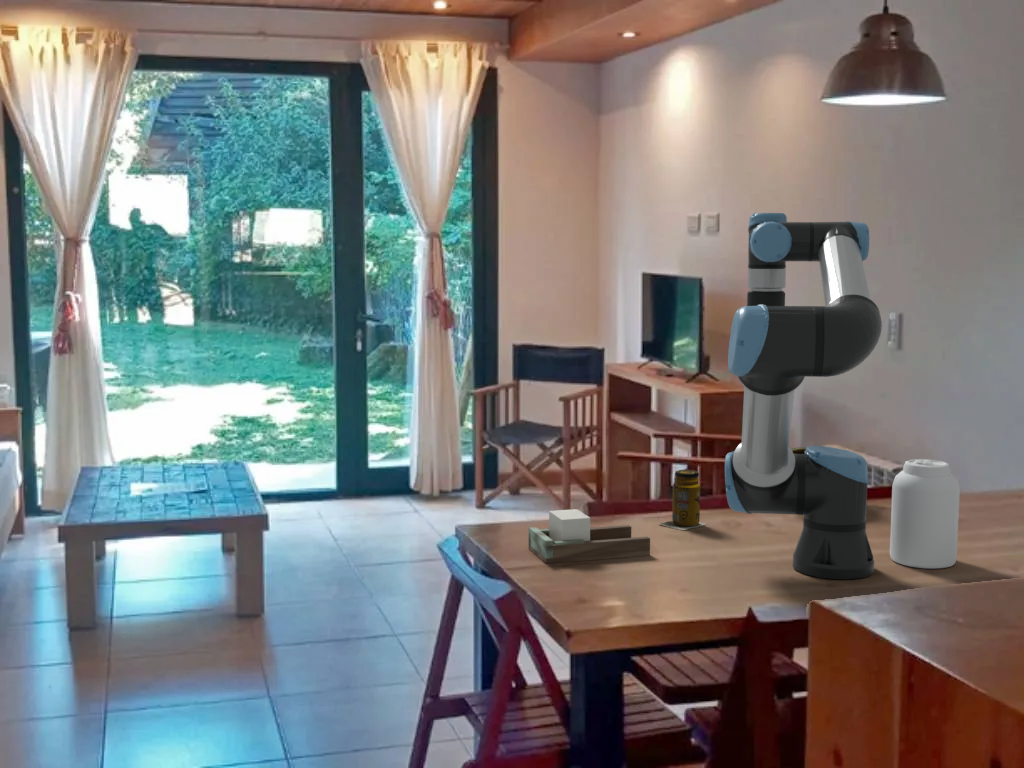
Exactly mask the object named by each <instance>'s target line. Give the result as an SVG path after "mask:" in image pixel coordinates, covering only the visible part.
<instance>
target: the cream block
mask: <svg viewBox="0 0 1024 768" xmlns="http://www.w3.org/2000/svg"><path fill="white" fill-rule="evenodd" d="M548 512H549V513H548V528H549V538H550V539H552V540H553V541H562V540H575V539H583V540H584V541H590V528H591V517H590V516H588V515H587V514H585V513H584V512H582V511H580V510H579V509H577V508H576V509H575V508H573V509H559V510H549V511H548Z"/></svg>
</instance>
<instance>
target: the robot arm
mask: <svg viewBox="0 0 1024 768" xmlns="http://www.w3.org/2000/svg"><path fill="white" fill-rule="evenodd" d="M748 222H749V223H748V229H747V230H748V231H747V232H748V246H747V247H748V255H747V257H748V258H747V259H748V262H747V263H748V264H747V288H748V289H750V290H748V292H747V296H746V297H747V298H746V305H743V306H741V307H740V308H738V309H737V310H736V311H735V314H734V316H733V318H732V323H731V329H730V338H729V343H728V351H727V352H728V355H727V356H728V357H727V363H728V365H727V368H728V372H729V373H730V374H731V375H733V376H736V377H737V379H738V380H739V382H740V384H741V385H742V386H743V388H744V389H743V404H742V405H743V407H742V425H741V426H742V427H741V430H742V431H741V442H740V443H739V444H738V445H737V447H736V448H735V450H734V451H731V452H728V453H727V454H726V455H725V459H724V483H725V492H726V493H725V495H726V499H727V504H728V506H729V508H730V509H731V511H734V512H736V513H745V514H770V515H772V514H774V515H799V516H800V515H801V516H803V523H802V525H803V526H802V530H801V533H800V536H799V538H798V541H797V544H796V546H795V550H794V552H793V555H792V568H793V569H794V570H796V572H797V571H798V572H799V573H802V574H804V575H807V576H813V577H815V578H822V579H831V580H854V579H862V578H866V577H869V576H871V575H873V574H874V572H875V559H874V556H873V552H872V548H871V545H870V541H869V538H868V535H867V532H866V531H867V507H868V506H867V505H868V504H867V502H868V501H867V499H868V483H869V481H870V480H869V476H868V475H869V471H868V462H867V460H866V459H865V458H864V456H862V455H861V454H859V453H857V452H853V451H850V450H846V449H842V448H839V447H832V446H823V445H810V446H809V445H808V446H806V447H807V448H806V450H805V454H793V452H792V450H791V449H792V448H791V446H789V445H790V437H791V428H792V427H791V426H792V420H793V419H792V417H793V407H794V398H795V397H794V396H795V390H797V389H798V388H799V387H800V386H801V385H802V383H803V382H804V380H805V377H817V378H819V377H822V378H823V377H824V378H825V377H826V378H828V377H836V376H840V375H843V374H845V373H847V372H849V371H851V370H854V368H857V367H858V366H859V365H861V364H862V362H864V361H865V360H866V359H867V358H868V357H870V355H871V354H872V352H873V351H874V349H875V348H876V346H877V345H878V343H879V340H880V337H881V334H882V329H883V325H882V322H883V321H882V317H881V313H880V309H879V307H878V305H877V304H876V303H875V302H874V301H873V299H871V296H870V291H869V287H868V281H867V277H866V273H865V268H864V267H865V266H864V262H863V261H866V260H867V259H868V256H869V253H870V252H869V251H870V230H869V229H870V228H869V226H868V225H867V223H865V222H858V221H857V222H856V221H848V220H847V221H819V222H818V221H817V222H816V221H813V222H812V221H811V222H810V221H807V222H805V221H799V222H798V221H788V218H787V214H785V213H784V212H754V213H752V214H750V216H749V221H748ZM787 262H819V268H820V269H819V270H820V275H821V283H822V289H823V296H824V297H823V298H824V303H825V305H821V306H820V305H819V306H817V305H815V306H814V305H786V292H785V291H784V290H783V289H785V288H786V287H787V286H786V284H787V281H786V272H787V269H786V267H787V264H786V263H787Z"/></svg>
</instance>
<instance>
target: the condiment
mask: <svg viewBox="0 0 1024 768" xmlns="http://www.w3.org/2000/svg"><path fill="white" fill-rule="evenodd" d="M699 476H700V473H699V472H698V471H696V470H693V469H678V470H676V471H675V472H674V482H673V483H672V512H671V513H672V516H671V517H672V518H671V519H672V520H670V521H669V520H668V521H665V522H660V523H658V525H661V526H663V527H667V528H671V529H673V530H674V529H675V530H678V531H679V530H680V531H686V530H689V529H690V530H691V529H694V528H699V527H702V526H706V525H707V523H705V522H700V516H701V515H700V514H701V513H700V510H701V506H700V505H701V484H700V483H699V481H700V479H699Z"/></svg>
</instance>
